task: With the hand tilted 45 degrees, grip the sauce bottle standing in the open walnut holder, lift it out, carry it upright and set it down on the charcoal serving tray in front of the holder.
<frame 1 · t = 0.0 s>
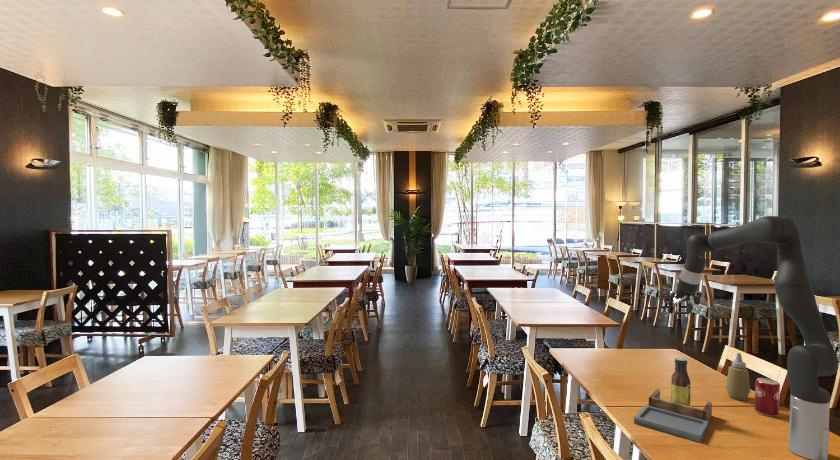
hand: (678, 312, 196), 31 cm above the table, tool tilted 20°, fingers open, 8 cm apart
tray: (670, 425, 158), on the table
soda can: (766, 413, 170), on the table
squeeze bottle: (737, 398, 184), on the table
sauce bottle: (680, 413, 169), on the table
holder: (680, 412, 169), on the table
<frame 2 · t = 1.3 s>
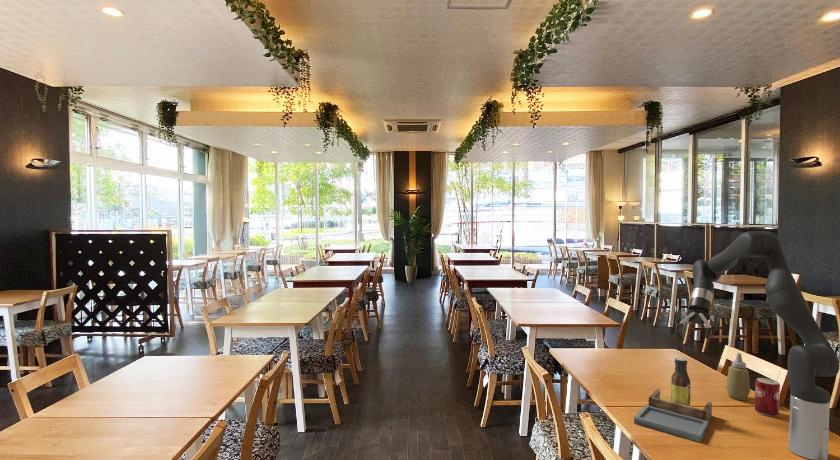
hand: (693, 335, 176), 27 cm above the table, tool tilted 45°, fingers open, 8 cm apart
nothing on the table moved.
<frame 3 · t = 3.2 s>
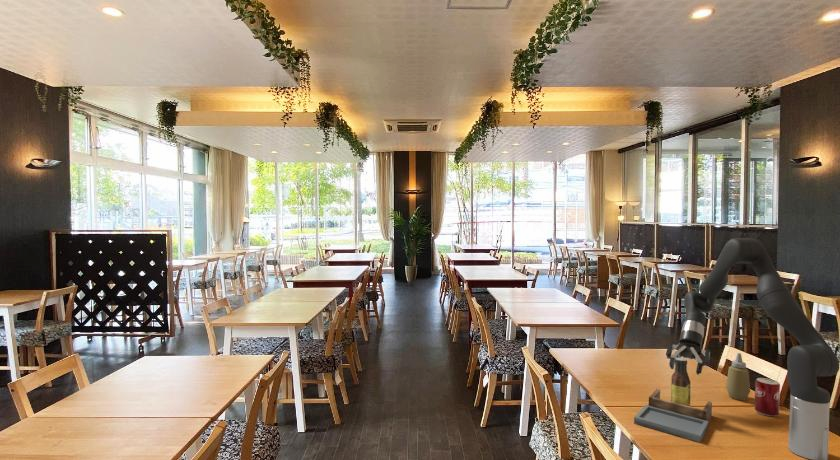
hand: (684, 370, 172), 14 cm above the table, tool tilted 45°, fingers open, 8 cm apart
nothing on the table moved.
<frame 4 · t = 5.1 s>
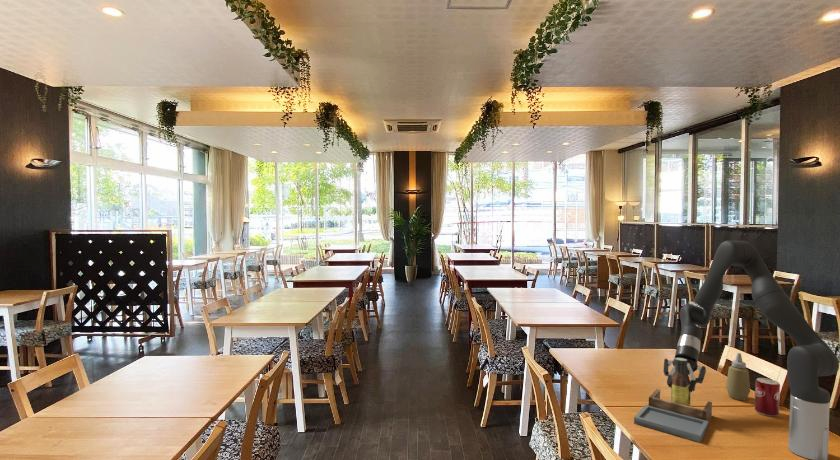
hand: (680, 388, 168), 9 cm above the table, tool tilted 45°, fingers closed on sauce bottle, 6 cm apart
sauce bottle: (680, 413, 169), on the table, touching gripper
everything else where it was.
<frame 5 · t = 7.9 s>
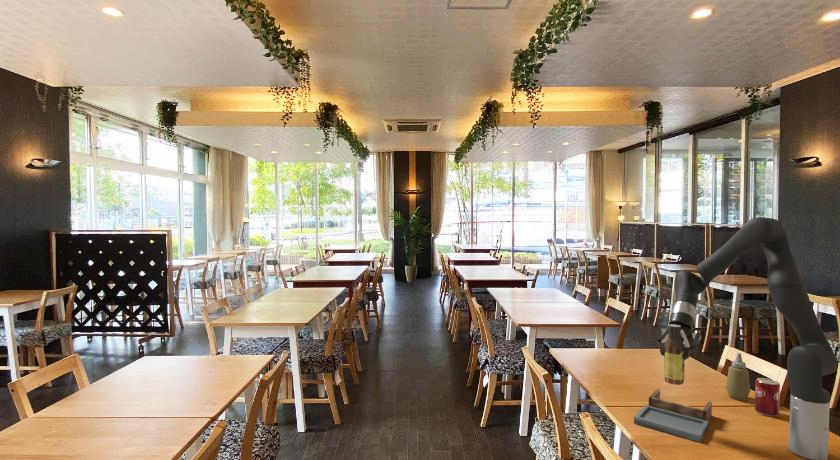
hand: (673, 356, 158), 24 cm above the table, tool tilted 45°, fingers closed on sauce bottle, 6 cm apart
sauce bottle: (673, 382, 159), point 14 cm above the table, touching gripper
everything else where it was.
when the fingers open (12 cm above the table, at t = 11.1 s): sauce bottle drops 1 cm, resting on tray.
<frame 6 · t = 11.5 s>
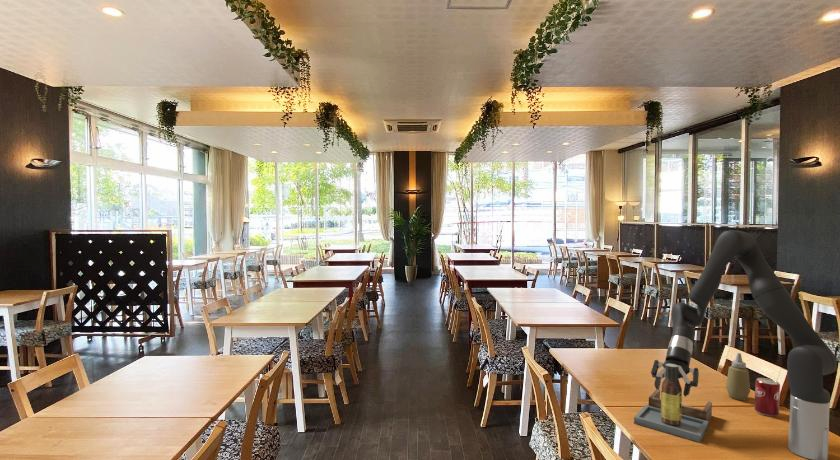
hand: (670, 391, 157), 12 cm above the table, tool tilted 45°, fingers open, 8 cm apart
sauce bottle: (670, 422, 158), point 1 cm above the table, touching tray
everything else where it was.
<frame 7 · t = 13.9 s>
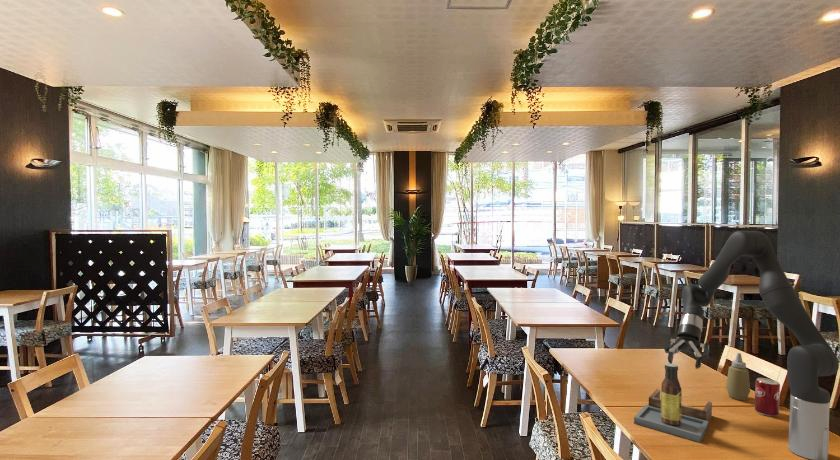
hand: (683, 365, 168), 18 cm above the table, tool tilted 45°, fingers open, 8 cm apart
nothing on the table moved.
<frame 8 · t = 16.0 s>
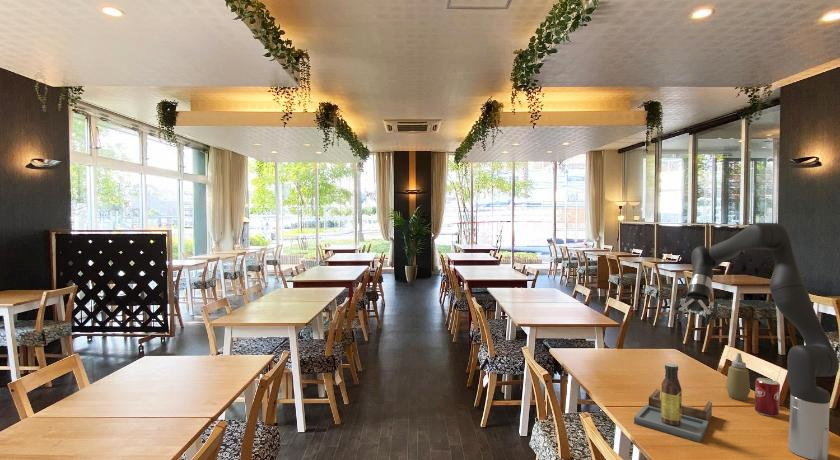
hand: (692, 322, 171), 33 cm above the table, tool tilted 45°, fingers open, 8 cm apart
nothing on the table moved.
at the end: sauce bottle inside the target area on the tray (0.3 cm from its centre), point 1.0 cm above the tray's base; sauce bottle tilted 0°; the gripper is holding nothing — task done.
